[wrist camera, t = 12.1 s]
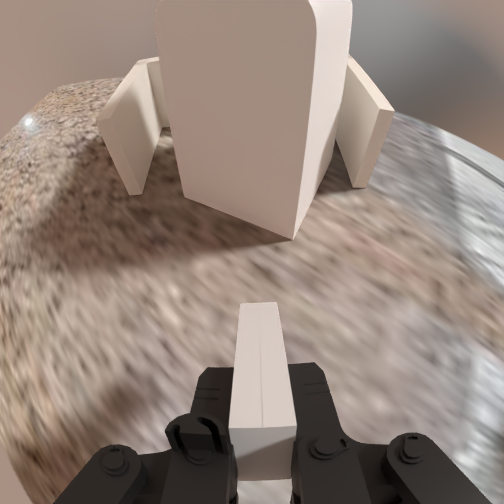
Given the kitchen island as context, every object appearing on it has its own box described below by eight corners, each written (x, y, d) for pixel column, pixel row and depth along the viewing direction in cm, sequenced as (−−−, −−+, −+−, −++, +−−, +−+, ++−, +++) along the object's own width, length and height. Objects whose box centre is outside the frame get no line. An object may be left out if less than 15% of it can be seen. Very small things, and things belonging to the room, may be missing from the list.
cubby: (336, 117, 35) (349, 53, 26) (365, 188, 28) (394, 111, 19) (154, 122, 35) (138, 60, 26) (129, 195, 28) (95, 120, 19)
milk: (292, 240, 25) (337, -111, 2) (184, 197, 28) (126, -78, 5) (331, 159, 30) (371, -69, 8) (241, 131, 33) (232, -77, 10)
